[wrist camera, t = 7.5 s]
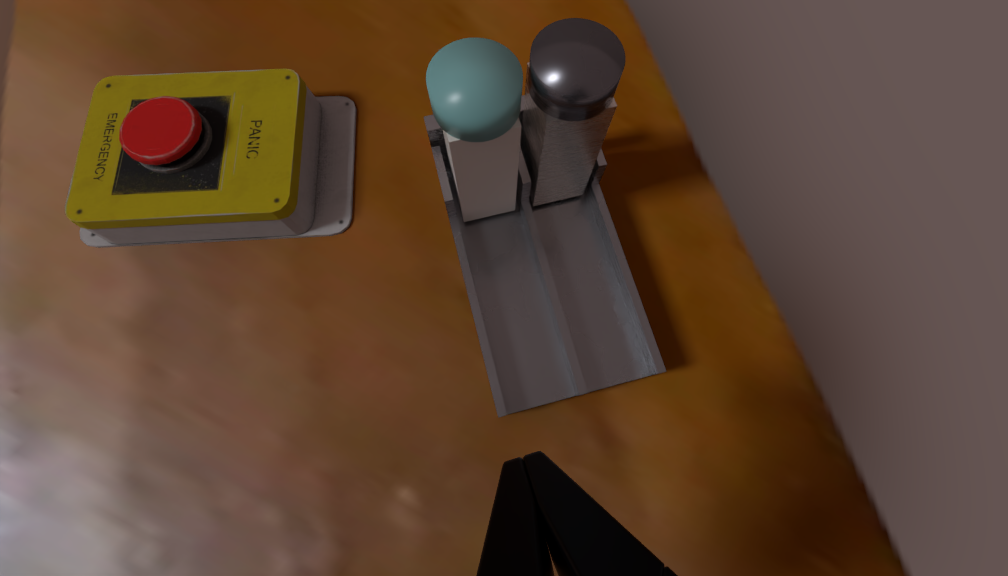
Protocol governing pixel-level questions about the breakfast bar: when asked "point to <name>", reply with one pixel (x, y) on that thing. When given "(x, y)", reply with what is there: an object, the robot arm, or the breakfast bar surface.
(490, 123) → the plunger
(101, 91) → the emergency button
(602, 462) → the breakfast bar surface
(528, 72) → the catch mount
